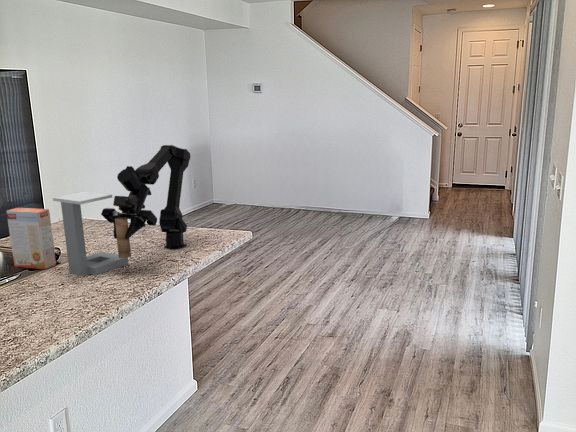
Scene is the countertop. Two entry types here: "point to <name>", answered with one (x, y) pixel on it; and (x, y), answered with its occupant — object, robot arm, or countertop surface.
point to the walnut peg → (122, 237)
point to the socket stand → (75, 237)
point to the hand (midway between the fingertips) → (120, 238)
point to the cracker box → (31, 238)
